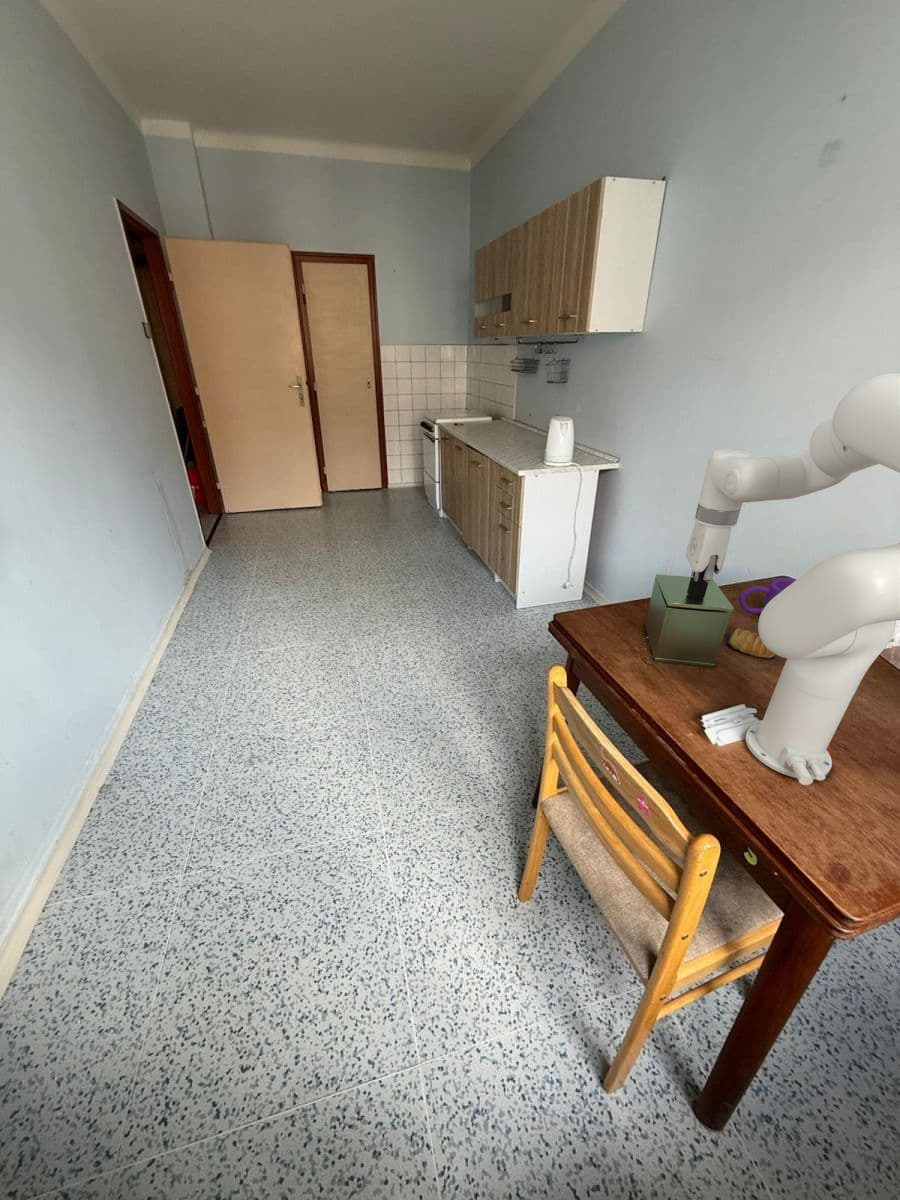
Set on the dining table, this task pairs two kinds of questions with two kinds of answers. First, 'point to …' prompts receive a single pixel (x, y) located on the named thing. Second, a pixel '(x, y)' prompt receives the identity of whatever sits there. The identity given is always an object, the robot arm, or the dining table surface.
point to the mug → (772, 591)
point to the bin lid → (678, 597)
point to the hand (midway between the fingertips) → (695, 595)
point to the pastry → (749, 643)
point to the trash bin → (684, 632)
